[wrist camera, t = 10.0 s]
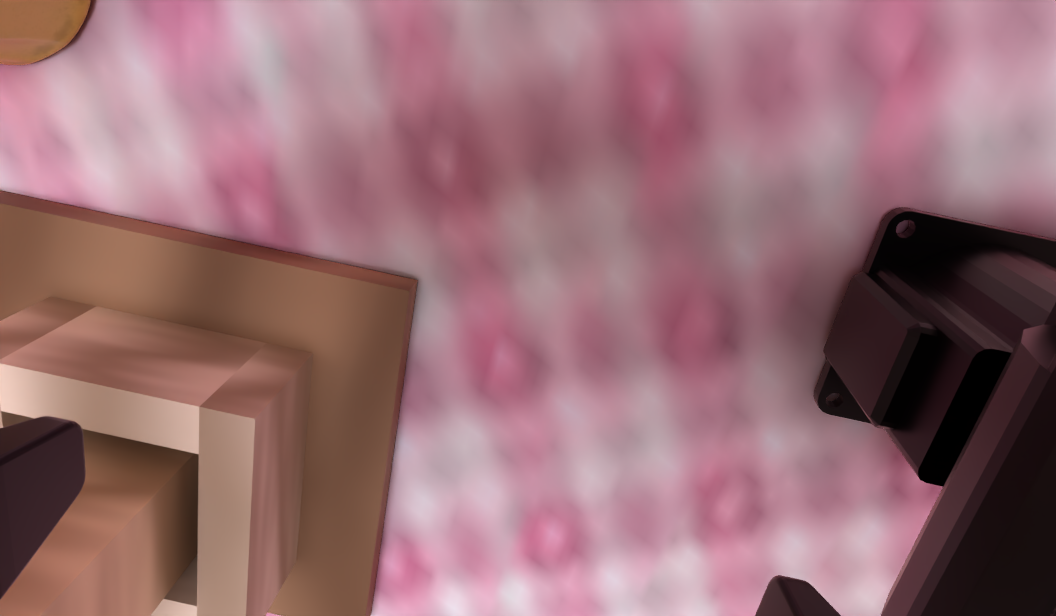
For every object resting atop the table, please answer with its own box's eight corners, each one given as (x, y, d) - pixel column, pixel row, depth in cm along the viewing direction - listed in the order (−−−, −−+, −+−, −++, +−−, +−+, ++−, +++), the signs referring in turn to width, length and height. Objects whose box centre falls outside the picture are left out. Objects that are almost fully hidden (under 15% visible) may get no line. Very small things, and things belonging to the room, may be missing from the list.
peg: (243, 402, 23) (0, 656, 14) (238, 500, 24) (17, 789, 15) (123, 376, 23) (-199, 611, 14) (127, 475, 24) (-161, 748, 15)
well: (417, 280, 22) (369, 347, 17) (371, 612, 27) (324, 733, 22) (-18, 186, 22) (-182, 228, 17) (21, 535, 27) (-97, 638, 23)
